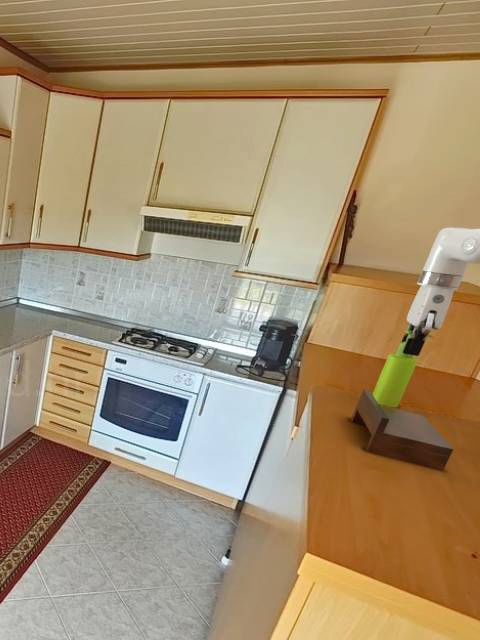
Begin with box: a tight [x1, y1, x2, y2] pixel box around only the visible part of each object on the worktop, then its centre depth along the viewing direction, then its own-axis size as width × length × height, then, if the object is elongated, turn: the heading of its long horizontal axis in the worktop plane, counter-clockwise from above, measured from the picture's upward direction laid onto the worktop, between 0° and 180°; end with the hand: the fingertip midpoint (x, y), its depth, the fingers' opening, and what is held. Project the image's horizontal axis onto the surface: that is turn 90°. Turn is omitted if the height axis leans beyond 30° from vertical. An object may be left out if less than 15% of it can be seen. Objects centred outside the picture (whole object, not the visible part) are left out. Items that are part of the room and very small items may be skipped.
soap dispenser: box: [371, 330, 435, 408], centre depth 127 cm, size 6×7×20 cm
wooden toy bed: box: [350, 389, 455, 472], centre depth 104 cm, size 12×20×8 cm, turn 151°
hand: (408, 352), depth 125 cm, fingers closed on soap dispenser, 3 cm apart
